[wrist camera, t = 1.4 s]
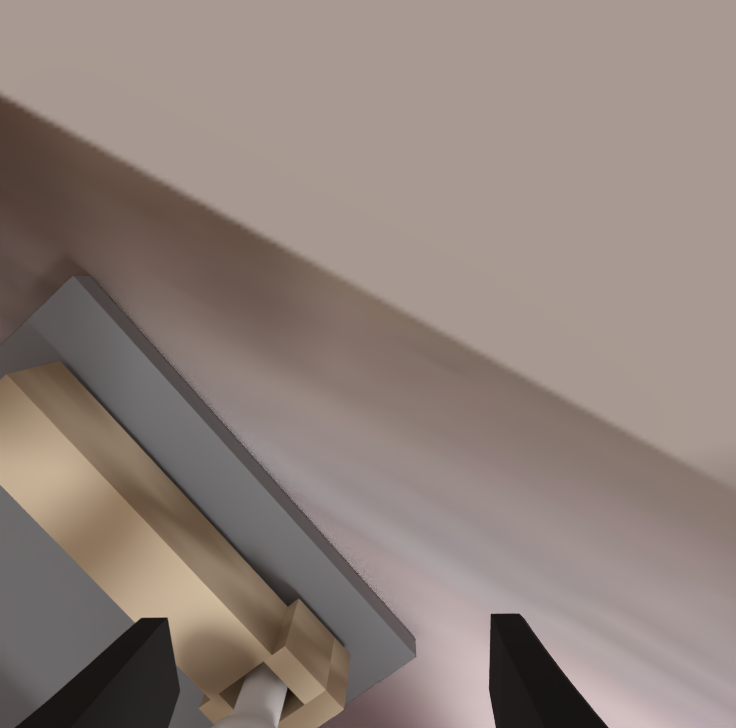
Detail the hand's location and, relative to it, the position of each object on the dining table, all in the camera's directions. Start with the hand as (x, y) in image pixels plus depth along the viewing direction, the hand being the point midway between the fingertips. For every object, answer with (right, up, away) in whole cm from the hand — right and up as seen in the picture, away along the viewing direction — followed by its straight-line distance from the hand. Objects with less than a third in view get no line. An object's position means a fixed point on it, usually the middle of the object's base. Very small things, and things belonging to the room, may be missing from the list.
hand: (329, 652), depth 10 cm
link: (-7, -1, +8) cm, 11 cm away
